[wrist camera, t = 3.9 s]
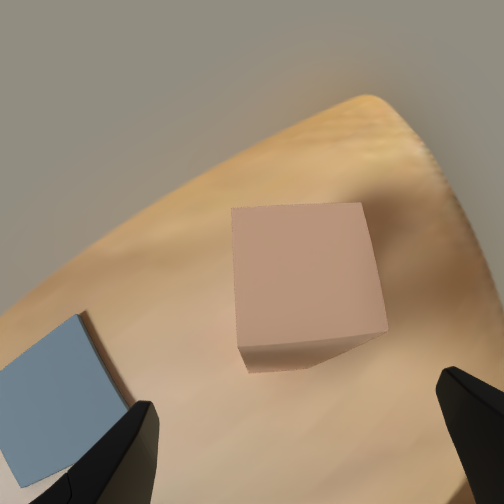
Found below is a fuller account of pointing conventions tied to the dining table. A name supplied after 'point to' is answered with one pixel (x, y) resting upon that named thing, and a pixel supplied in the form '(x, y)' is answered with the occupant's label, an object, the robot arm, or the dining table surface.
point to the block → (303, 284)
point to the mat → (55, 403)
